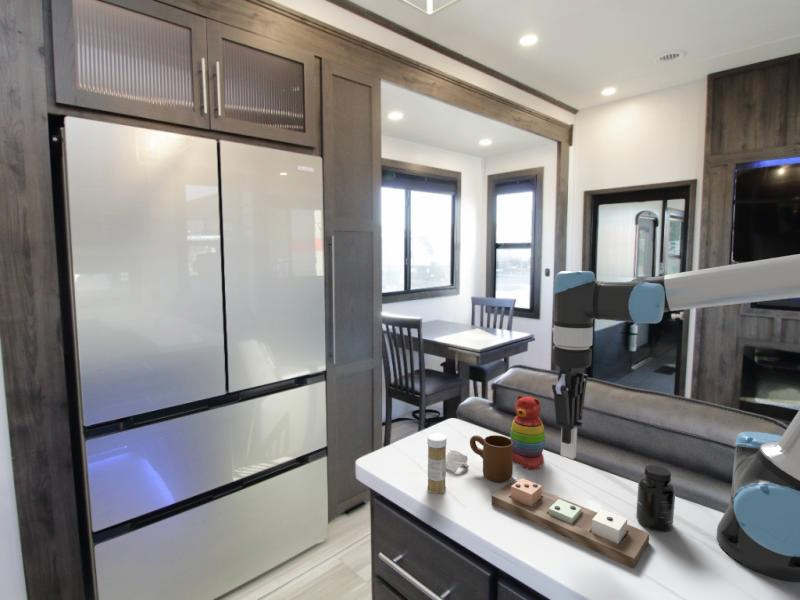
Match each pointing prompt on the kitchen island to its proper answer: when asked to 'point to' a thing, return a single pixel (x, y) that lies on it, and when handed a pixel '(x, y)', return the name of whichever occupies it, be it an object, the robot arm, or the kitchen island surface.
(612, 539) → the one-pip button
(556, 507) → the two-pip button
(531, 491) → the three-pip button
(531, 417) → the stacking bear
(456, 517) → the kitchen island surface
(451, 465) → the crumpled white paper
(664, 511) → the supplement bottle
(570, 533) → the button board
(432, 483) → the sprinkles bottle
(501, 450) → the mug
